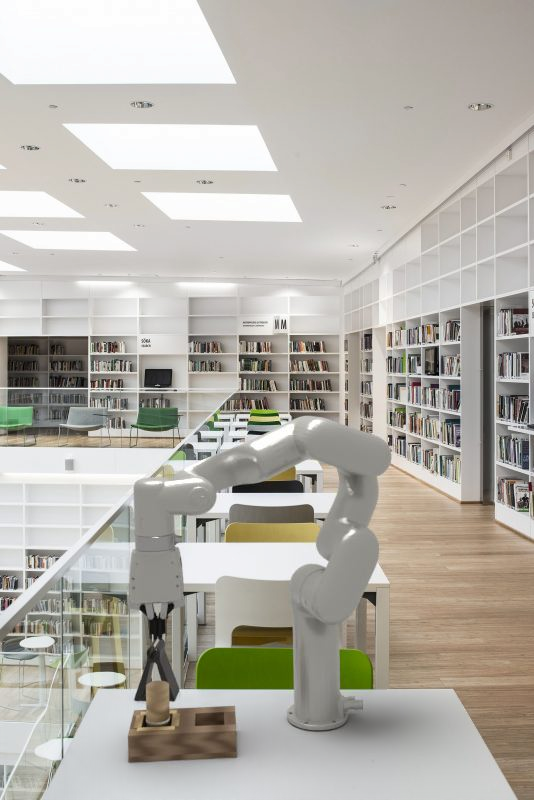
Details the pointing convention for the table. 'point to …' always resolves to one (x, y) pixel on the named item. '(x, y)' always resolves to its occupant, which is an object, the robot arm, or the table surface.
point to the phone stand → (163, 668)
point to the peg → (157, 704)
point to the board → (184, 735)
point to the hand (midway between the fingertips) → (158, 637)
